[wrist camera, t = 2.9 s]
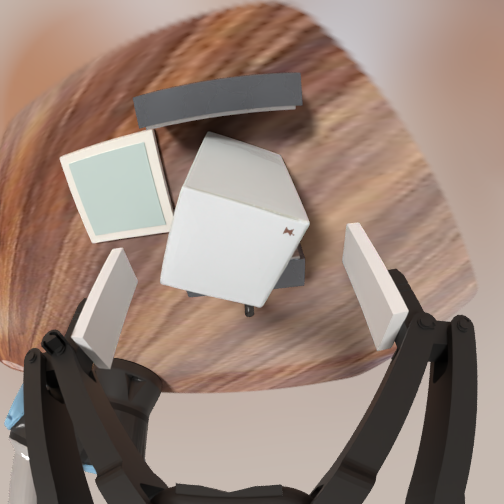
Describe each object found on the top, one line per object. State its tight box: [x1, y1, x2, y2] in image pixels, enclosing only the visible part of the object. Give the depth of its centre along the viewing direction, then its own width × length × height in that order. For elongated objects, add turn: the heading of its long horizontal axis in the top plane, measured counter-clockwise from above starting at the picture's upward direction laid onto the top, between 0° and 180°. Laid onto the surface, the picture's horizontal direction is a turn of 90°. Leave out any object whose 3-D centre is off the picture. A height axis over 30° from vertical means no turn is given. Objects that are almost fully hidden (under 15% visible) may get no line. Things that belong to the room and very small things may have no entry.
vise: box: [133, 72, 305, 317], centre depth 25 cm, size 12×24×5 cm, turn 6°
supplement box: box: [160, 132, 310, 308], centre depth 21 cm, size 7×7×13 cm
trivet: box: [60, 129, 174, 243], centre depth 26 cm, size 11×11×1 cm
